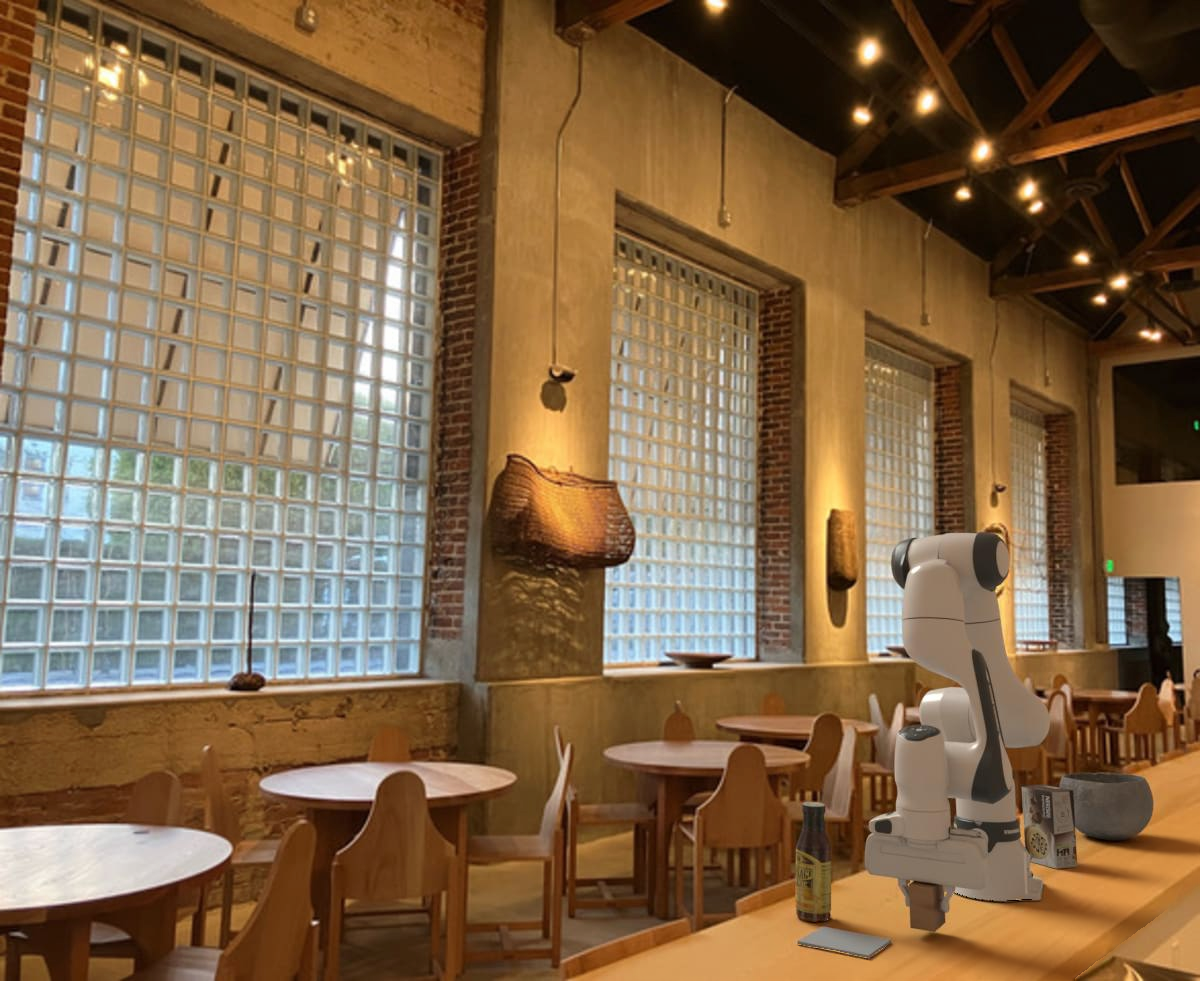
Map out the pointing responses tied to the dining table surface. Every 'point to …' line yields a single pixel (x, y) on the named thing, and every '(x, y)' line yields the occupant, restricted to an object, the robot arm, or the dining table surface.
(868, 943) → the mat
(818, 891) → the sauce bottle
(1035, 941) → the dining table surface
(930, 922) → the walnut block
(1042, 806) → the coffee box
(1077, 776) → the bowl
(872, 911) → the dining table surface
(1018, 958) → the dining table surface
